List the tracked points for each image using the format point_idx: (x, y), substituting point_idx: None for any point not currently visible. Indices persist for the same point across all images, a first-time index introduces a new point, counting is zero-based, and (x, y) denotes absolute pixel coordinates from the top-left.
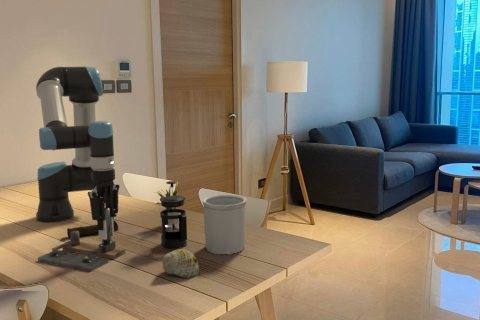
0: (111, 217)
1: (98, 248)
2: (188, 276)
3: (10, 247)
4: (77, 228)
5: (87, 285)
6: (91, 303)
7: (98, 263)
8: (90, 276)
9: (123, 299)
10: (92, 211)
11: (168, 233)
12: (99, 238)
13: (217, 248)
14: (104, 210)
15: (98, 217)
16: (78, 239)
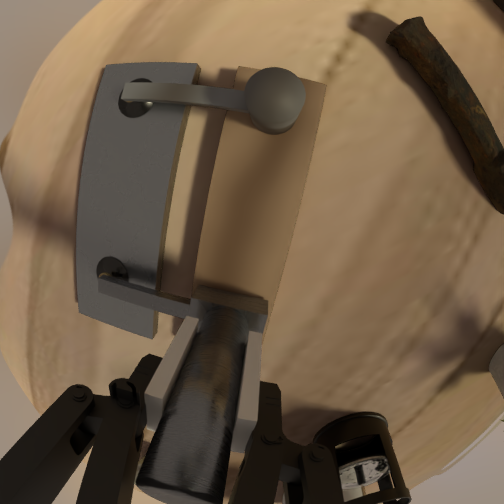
0: (237, 447)
1: (169, 304)
2: None
3: None
4: (435, 57)
5: (39, 327)
6: (15, 353)
7: (110, 323)
8: (66, 317)
9: (47, 396)
10: (37, 433)
11: (387, 435)
12: (185, 319)
13: (283, 501)
14: (132, 488)
15: (79, 432)
16: (270, 129)
